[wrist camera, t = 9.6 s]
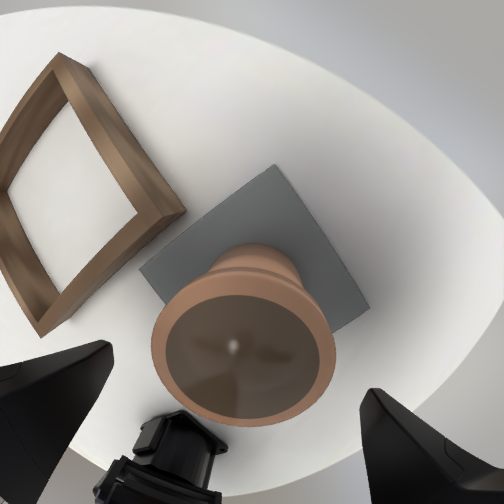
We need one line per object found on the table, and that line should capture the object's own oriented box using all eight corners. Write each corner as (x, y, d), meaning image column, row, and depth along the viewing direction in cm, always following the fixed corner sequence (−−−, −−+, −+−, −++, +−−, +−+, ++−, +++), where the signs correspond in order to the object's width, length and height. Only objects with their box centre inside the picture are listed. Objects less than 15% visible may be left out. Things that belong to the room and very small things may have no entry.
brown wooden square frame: (186, 210, 17) (162, 216, 13) (68, 318, 20) (40, 338, 16) (88, 67, 15) (58, 51, 11) (0, 190, 18) (-29, 194, 14)
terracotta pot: (328, 302, 17) (365, 379, 9) (242, 354, 18) (227, 443, 10) (266, 213, 16) (263, 233, 8) (179, 277, 17) (117, 338, 9)
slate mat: (367, 304, 17) (370, 308, 17) (238, 380, 19) (237, 385, 19) (274, 164, 16) (274, 164, 15) (142, 266, 18) (138, 269, 17)
